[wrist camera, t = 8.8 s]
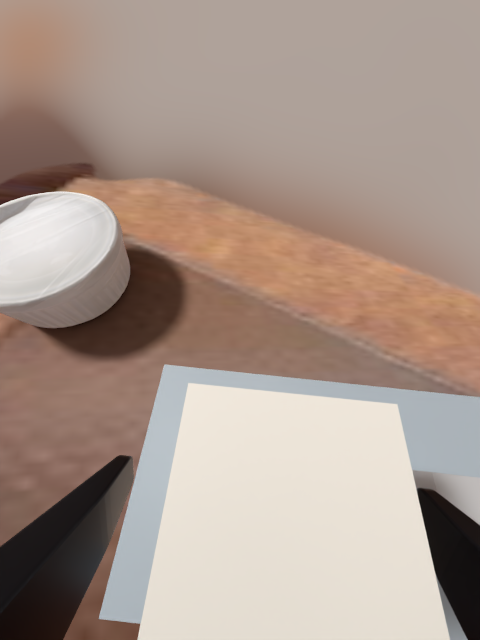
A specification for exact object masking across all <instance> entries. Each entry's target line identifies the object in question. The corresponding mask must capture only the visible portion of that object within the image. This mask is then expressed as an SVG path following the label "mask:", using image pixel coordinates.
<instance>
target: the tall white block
mask: <svg viewBox="0 0 480 640" xmlns="http://www.w3.org/2000/svg"><path fill="white" fill-rule="evenodd" d="M138 640H450V637H449V633H448V628H447V624H446V619H445V615H444V610H443V606H442V602H441V597H440V593H439V588H438V584H437V579H436V575H435V570H434V566H433V561H432V557H431V552H430V548H429V543H428V539H427V534H426V530H425V526H424V521H423V517H422V512H421V508H420V503H419V499H418V494H417V490H416V485H415V481H414V476H413V472H412V467H411V463H410V458H409V454H408V450H407V445H406V441H405V436H404V432H403V427H402V423H401V418H400V414H399V409H398V405H397V404H391V403H381V402H371V401H361V400H351V399H342V398H332V397H322V396H312V395H302V394H292V393H283V392H273V391H263V390H253V389H243V388H234V387H224V386H214V385H204V384H194V383H188V387H187V392H186V397H185V402H184V407H183V412H182V417H181V422H180V427H179V432H178V437H177V443H176V448H175V453H174V458H173V463H172V468H171V473H170V478H169V483H168V488H167V493H166V498H165V503H164V508H163V513H162V518H161V524H160V529H159V534H158V539H157V544H156V549H155V554H154V559H153V564H152V569H151V574H150V579H149V584H148V589H147V594H146V599H145V605H144V610H143V615H142V620H141V625H140V630H139V635H138Z"/></svg>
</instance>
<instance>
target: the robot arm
mask: <svg viewBox="0 0 480 640" xmlns="http://www.w3.org/2000/svg"><path fill="white" fill-rule="evenodd" d="M133 478H134V470H133V458H132V457H131V456H125V455H119V456H117V457H116V458H115V459H113V460H112V461H111V462H109V463H108V464H107V465H106V466H104V467H103V468H102V469H100V470H99V471H98V472H96V473H95V474H94V475H93V476H91V477H90V478H89V479H87V480H86V481H85V482H83V483H82V484H81V485H80V486H78V487H77V488H76V489H74V490H73V491H72V492H71V493H69V494H68V495H67V496H65V497H64V498H63V499H61V500H60V501H59V502H58V503H56V504H55V505H54V506H52V507H51V508H50V509H49V510H47V511H46V512H45V513H43V514H42V515H41V516H39V517H38V518H37V519H36V520H34V521H33V522H32V523H30V524H29V525H28V526H26V527H25V528H24V529H23V530H21V531H20V532H19V533H17V534H16V535H15V536H14V537H12V538H11V539H10V540H8V541H7V542H6V543H4V544H3V545H2V546H1V547H0V640H63V638H64V636H65V634H66V632H67V630H68V628H69V626H70V624H71V622H72V620H73V618H74V616H75V614H76V611H77V609H78V607H79V605H80V603H81V601H82V599H83V597H84V595H85V593H86V591H87V589H88V587H89V585H90V583H91V580H92V578H93V576H94V574H95V572H96V570H97V568H98V566H99V564H100V562H101V560H102V558H103V556H104V553H105V551H106V549H107V547H108V545H109V542H110V540H111V537H112V535H113V532H114V530H115V527H116V525H117V522H118V519H119V517H120V514H121V512H122V509H123V506H124V504H125V501H126V499H127V496H128V493H129V491H130V488H131V486H132V483H133ZM416 490H417V494H418V499H419V503H420V508H421V512H422V517H423V521H424V526H425V530H426V534H427V539H428V543H429V548H430V552H431V557H432V561H433V566H434V570H435V574H436V576H437V579H438V581H439V583H440V585H441V587H442V589H443V592H444V594H445V596H446V598H447V600H448V602H449V604H450V606H451V608H452V610H453V612H454V614H455V616H456V618H457V620H458V622H459V624H460V626H461V628H462V630H463V632H464V634H465V636H466V638H467V640H480V525H479V524H478V523H476V522H475V521H474V520H473V519H471V518H470V517H469V516H467V515H466V514H465V513H463V512H462V511H461V510H460V509H458V508H457V507H456V506H454V505H453V504H452V503H450V502H449V501H448V500H447V499H445V498H444V497H443V496H441V495H440V494H439V493H437V492H436V491H435V490H433V489H430V488H421V487H420V488H417V489H416Z"/></svg>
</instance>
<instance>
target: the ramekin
mask: <svg viewBox="0 0 480 640" xmlns="http://www.w3.org/2000/svg"><path fill="white" fill-rule="evenodd" d="M129 277H130V263H129V259H128V256H127V253H126V249H125V246H124V243H123V235H122V229H121V226H120V223H119V221H118V219H117V217H116V216H115V214H114V212H113V211H112V210H111V209H110V208H109V207H108V206H107V205H106V204H105V203H104V202H102V201H101V200H99V199H96V198H94V197H92V196H89V195H85V194H80V193H73V192H47V193H41V194H35V195H30V196H26V197H22V198H18V199H15V200H12V201H10V202H7V203H4V204H2V205H0V313H2V314H5V315H7V316H10V317H12V318H15V319H18V320H20V321H23V322H25V323H28V324H31V325H34V326H38V327H44V328H64V327H68V326H74V325H77V324H81V323H84V322H87V321H89V320H91V319H94V318H96V317H98V316H99V315H101V314H102V313H104V312H105V311H107V310H108V309H109V308H110V307H112V306H113V305H114V304H115V303H116V302H117V300H118V299H119V298H120V297H121V295H122V293H123V292H124V291H125V288H126V287H127V285H128V281H129Z"/></svg>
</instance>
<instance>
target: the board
mask: <svg viewBox="0 0 480 640" xmlns="http://www.w3.org/2000/svg"><path fill="white" fill-rule="evenodd" d="M188 383H194V384H204V385H214V386H224V387H234V388H243V389H253V390H263V391H273V392H283V393H292V394H302V395H312V396H322V397H332V398H342V399H351V400H361V401H371V402H381V403H391V404H397V405H398V409H399V414H400V418H401V423H402V427H403V432H404V436H405V441H406V445H407V450H408V454H409V458H410V463H411V467H412V472H413V476H414V481H415V485H416V489H417V488H420V487H421V488H430V489H433V490H435V491H436V492H437V493H439V494H440V495H441V496H443V497H444V498H445V499H447V500H448V501H449V502H450V503H452V504H453V505H454V506H456V507H457V508H458V509H460V510H461V511H462V512H463V513H465V514H466V515H467V516H469V517H470V518H471V519H473V520H474V521H475V522H476V523H478V524H479V525H480V397H472V396H462V395H453V394H443V393H433V392H424V391H414V390H404V389H395V388H385V387H375V386H366V385H356V384H347V383H337V382H327V381H318V380H308V379H298V378H289V377H279V376H269V375H260V374H250V373H241V372H231V371H221V370H212V369H202V368H192V367H183V366H173V365H164V369H163V372H162V376H161V380H160V384H159V388H158V392H157V396H156V399H155V403H154V407H153V411H152V415H151V419H150V423H149V426H148V430H147V434H146V438H145V442H144V446H143V450H142V454H141V457H140V461H139V465H138V469H137V473H136V477H135V481H134V484H133V488H132V492H131V496H130V500H129V504H128V508H127V512H126V515H125V519H124V523H123V527H122V531H121V535H120V539H119V542H118V546H117V550H116V554H115V558H114V562H113V566H112V570H111V573H110V577H109V581H108V585H107V589H106V593H105V597H104V600H103V604H102V608H101V612H100V616H99V619H105V620H113V621H122V622H131V623H139V624H141V620H142V615H143V610H144V605H145V599H146V594H147V589H148V584H149V579H150V574H151V569H152V564H153V559H154V554H155V549H156V544H157V539H158V534H159V529H160V524H161V518H162V513H163V508H164V503H165V498H166V493H167V488H168V483H169V478H170V473H171V468H172V463H173V458H174V453H175V448H176V443H177V437H178V432H179V427H180V422H181V417H182V412H183V407H184V402H185V397H186V392H187V387H188ZM435 575H436V574H435ZM436 579H437V576H436ZM437 584H438V588H439V593H440V597H441V602H442V606H443V610H444V615H445V619H446V624H447V628H448V633H449V637H450V640H467V638H466V636H465V634H464V632H463V630H462V628H461V626H460V624H459V622H458V620H457V618H456V616H455V614H454V612H453V610H452V608H451V606H450V604H449V602H448V600H447V598H446V596H445V594H444V592H443V589H442V587H441V585H440V583H439V581H438V579H437Z"/></svg>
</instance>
